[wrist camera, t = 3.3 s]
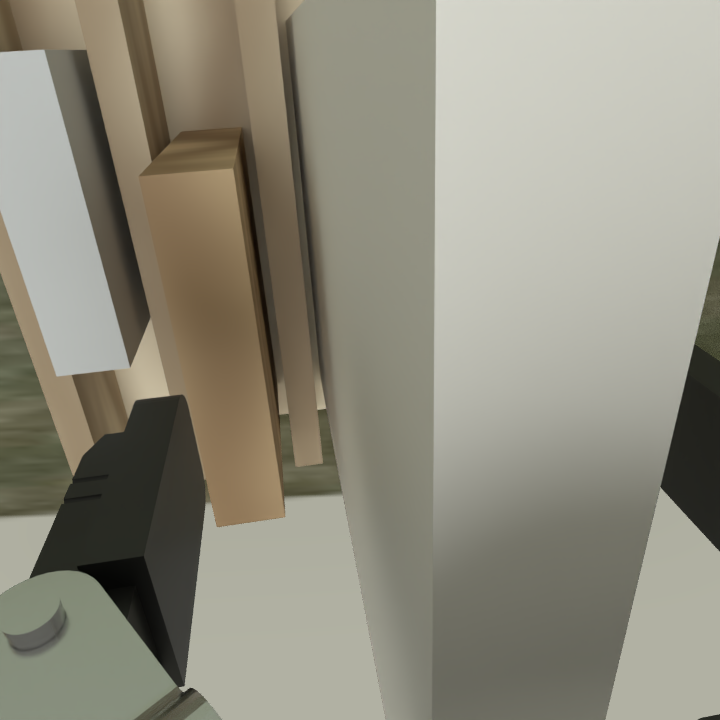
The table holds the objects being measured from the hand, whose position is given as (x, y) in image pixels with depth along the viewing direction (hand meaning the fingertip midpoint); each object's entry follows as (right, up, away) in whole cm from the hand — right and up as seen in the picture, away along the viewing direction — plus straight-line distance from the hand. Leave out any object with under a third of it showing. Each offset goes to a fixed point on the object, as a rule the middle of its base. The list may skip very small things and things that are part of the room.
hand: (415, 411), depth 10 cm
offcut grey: (-10, +7, +10) cm, 15 cm away
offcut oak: (-6, +4, +12) cm, 14 cm away
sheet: (-2, +6, +11) cm, 13 cm away
